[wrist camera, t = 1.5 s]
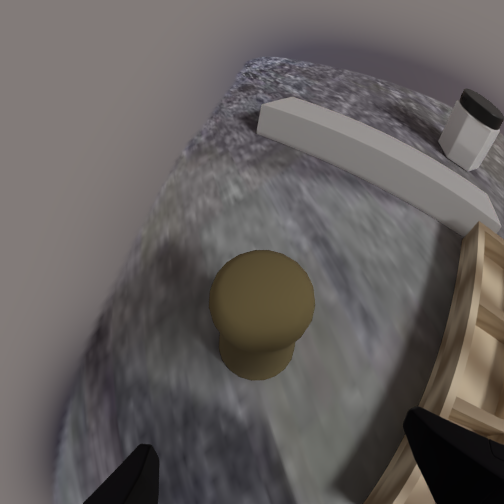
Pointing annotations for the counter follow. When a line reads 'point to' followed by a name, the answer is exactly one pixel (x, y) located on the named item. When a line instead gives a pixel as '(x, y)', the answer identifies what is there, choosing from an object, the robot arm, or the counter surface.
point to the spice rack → (461, 365)
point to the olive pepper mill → (260, 312)
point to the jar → (470, 130)
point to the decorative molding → (378, 162)
